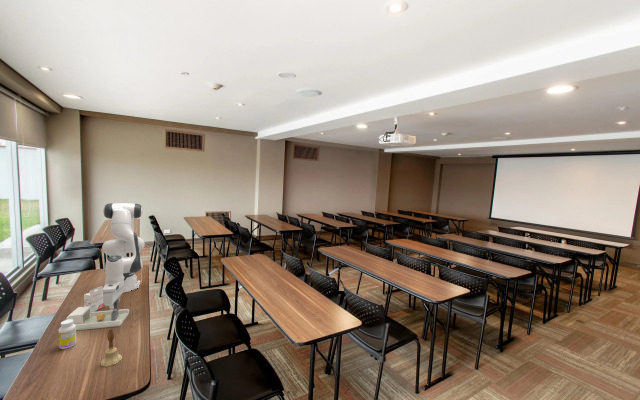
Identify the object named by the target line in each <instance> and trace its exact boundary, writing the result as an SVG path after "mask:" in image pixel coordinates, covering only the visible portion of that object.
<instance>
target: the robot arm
mask: <svg viewBox="0 0 640 400" xmlns="http://www.w3.org/2000/svg"><path fill="white" fill-rule="evenodd" d="M102 211H103V212H102V213H103V216H104V217H105V218H107V219H108V220H111V221H110V225H109V226H110V229H109V231H110V234H111V236H112V237H114V239H110V240H106V241H104V242H103V244H102V245H101V246H102V247H101V249H102V252H103V253H104V254H105V255H107V256H109V257H107V258H106V262H105V264H104V273H105V279H104V285H103V286H102V287H103V289H102V292H103V306H104V307H107V306H108V308H109V310H113V309H114V306H113V304H114V302H115V301H116V300H119V303H120V302H121V296H122V294H123V293H129V292H131V290H132V291H134V290H137V288H138V289H139V288H140V286H139V285H141V280H139V279H138V276H137V275H136V273H139V271H141V269H143V260H142V256H141V251H143V249H144V248H145V247H146V244H145V241H144V238H142V237H140V236H138V235H137V233H136V232H135V221H134V220H135V219H140V218H141V217H142V215H143V212H144V209H143V208H142V205H141V204H139V203H132V202H131V203H129V202H124V203H123V202H119V203H118V202H117V203H113V202H112V203H107V204H105V205H104V208H103V210H102ZM129 253H130V254H131V253H132V256H125V255H124V254H129ZM137 280H138V281H137Z"/></svg>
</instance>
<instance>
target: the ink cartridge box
mask: <svg viewBox="0 0 640 400" xmlns="http://www.w3.org/2000/svg"><path fill="white" fill-rule="evenodd" d="M103 287H104V286H103V285H101V286H98V287H95V288H93V289H91V290H89V292H87V293H84V294H83V299H84V304H83V307H87V306H91V312H97V311H99V310H100V309H102V308H104V307H105V305H104V300H103V294H104V292H102V289H103Z"/></svg>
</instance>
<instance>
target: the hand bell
mask: <svg viewBox="0 0 640 400" xmlns="http://www.w3.org/2000/svg"><path fill="white" fill-rule="evenodd" d="M106 338H107V341H108V348H107V349H106V350H105V353H104V357H103V359H102V360H101V361H100V366H101V367H105V368H106V367H112V366H115V365H116V364H118V363H120V361H122V359H123V356H122V355H121V354H120V353H119V352H118V348H117V347H114V338H115V332H114V330H113V327H109V328H108V331H107V337H106Z"/></svg>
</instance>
